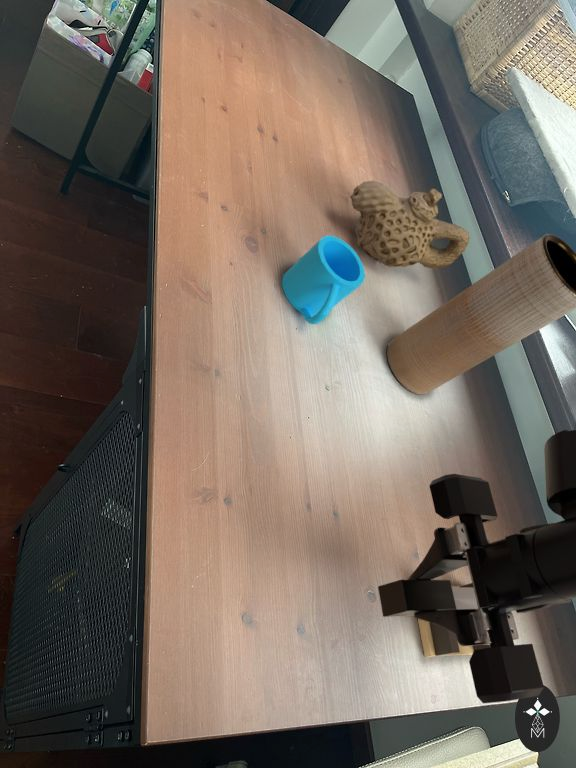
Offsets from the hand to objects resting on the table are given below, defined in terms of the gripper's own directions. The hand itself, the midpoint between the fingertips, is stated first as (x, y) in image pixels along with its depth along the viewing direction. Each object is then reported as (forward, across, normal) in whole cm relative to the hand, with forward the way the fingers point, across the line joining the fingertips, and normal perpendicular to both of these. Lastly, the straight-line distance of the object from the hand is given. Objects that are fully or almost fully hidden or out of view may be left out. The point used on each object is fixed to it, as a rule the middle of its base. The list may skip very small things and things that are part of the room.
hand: (414, 598), depth 60 cm
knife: (+1, 0, -4) cm, 4 cm away
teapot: (+11, +58, -19) cm, 62 cm away
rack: (+11, -1, -16) cm, 20 cm away
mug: (+11, +42, -1) cm, 44 cm away
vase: (+11, +36, -21) cm, 43 cm away
